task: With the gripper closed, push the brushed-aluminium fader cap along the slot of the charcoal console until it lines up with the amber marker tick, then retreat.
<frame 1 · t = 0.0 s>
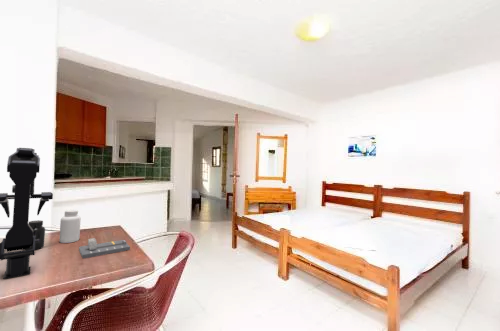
hand: (23, 216, 103), 15 cm above the table, fingers open, 9 cm apart
console: (104, 249, 107), on the table
pill bottle: (69, 241, 117), on the table
fader: (92, 243, 104), point 4 cm above the table, slide at 0.0 cm
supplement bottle: (34, 248, 105), on the table
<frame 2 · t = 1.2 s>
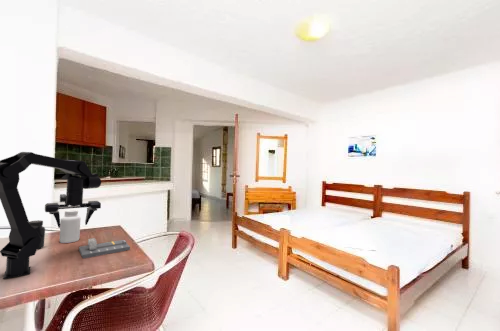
hand: (72, 226, 100), 12 cm above the table, fingers open, 9 cm apart
nothing on the table moved.
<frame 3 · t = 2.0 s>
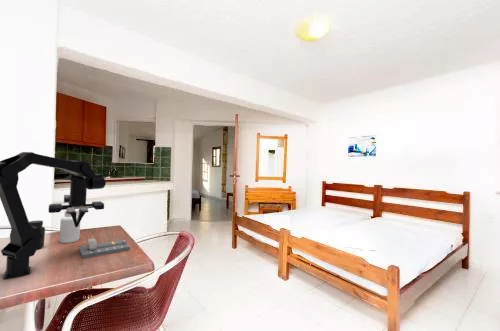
hand: (76, 226, 100), 12 cm above the table, fingers closed
nothing on the table moved.
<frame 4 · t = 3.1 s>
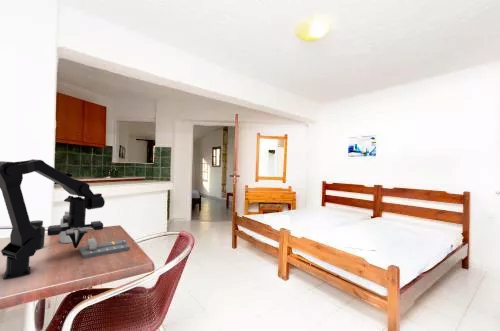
hand: (75, 247, 100), 3 cm above the table, fingers closed
nothing on the table moved.
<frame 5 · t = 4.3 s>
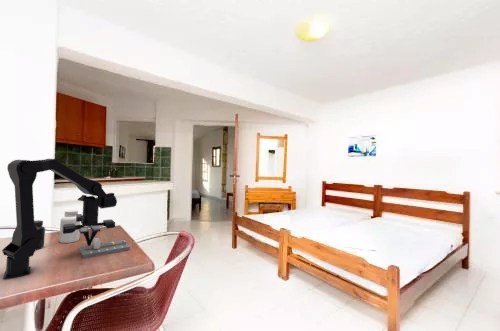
hand: (88, 245, 103), 3 cm above the table, fingers closed
fader: (96, 243, 105), point 4 cm above the table, slide at 1.5 cm, touching gripper
everything else where it was.
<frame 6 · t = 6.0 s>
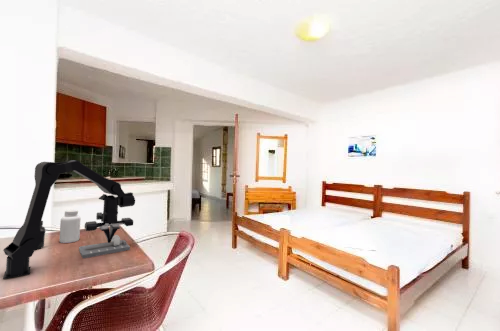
hand: (109, 242, 108), 3 cm above the table, fingers closed
fader: (115, 240, 110), point 4 cm above the table, slide at 9.2 cm, touching gripper
everything else where it was.
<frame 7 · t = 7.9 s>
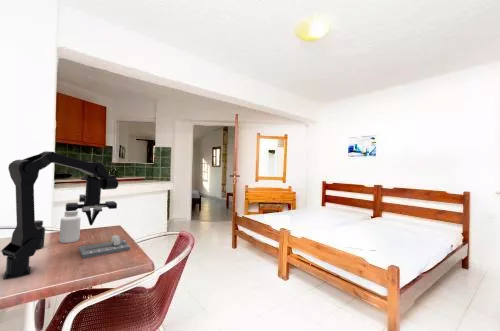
hand: (90, 225, 105), 12 cm above the table, fingers closed
fader: (115, 240, 110), point 4 cm above the table, slide at 9.3 cm
everything else where it was.
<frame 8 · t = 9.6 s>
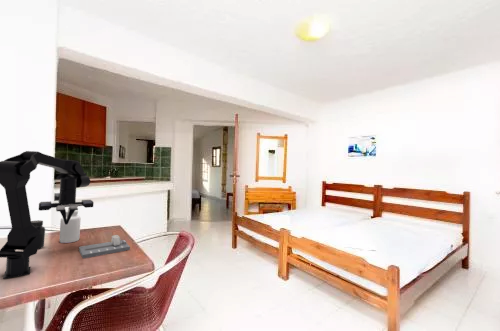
hand: (66, 224, 103), 12 cm above the table, fingers closed
nothing on the table moved.
at the end: fader slide at 9.3 cm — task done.
